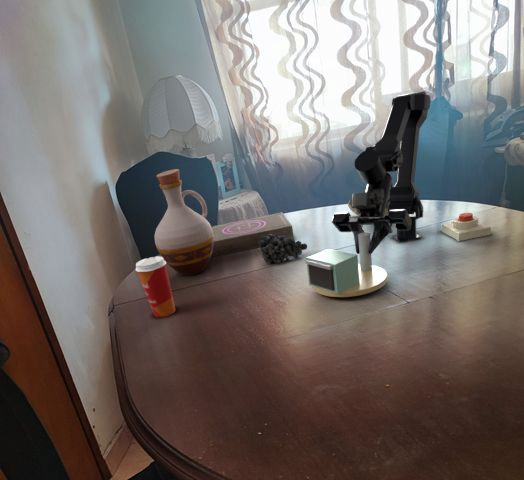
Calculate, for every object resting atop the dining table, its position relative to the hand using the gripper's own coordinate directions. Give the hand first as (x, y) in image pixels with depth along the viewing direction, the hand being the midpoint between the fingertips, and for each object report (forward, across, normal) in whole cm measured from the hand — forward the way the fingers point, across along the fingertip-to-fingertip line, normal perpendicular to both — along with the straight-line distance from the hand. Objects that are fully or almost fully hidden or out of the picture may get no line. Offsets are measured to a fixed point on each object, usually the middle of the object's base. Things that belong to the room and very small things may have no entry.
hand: (363, 253), depth 112 cm
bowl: (-29, -16, +40) cm, 52 cm away
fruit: (-3, -31, +12) cm, 33 cm away
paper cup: (+24, -43, -16) cm, 52 cm away
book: (-16, -57, +24) cm, 63 cm away
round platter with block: (+7, -2, +1) cm, 8 cm away
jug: (+4, -57, +4) cm, 58 cm away
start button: (-24, +15, +30) cm, 41 cm away
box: (-21, +15, +32) cm, 41 cm away
